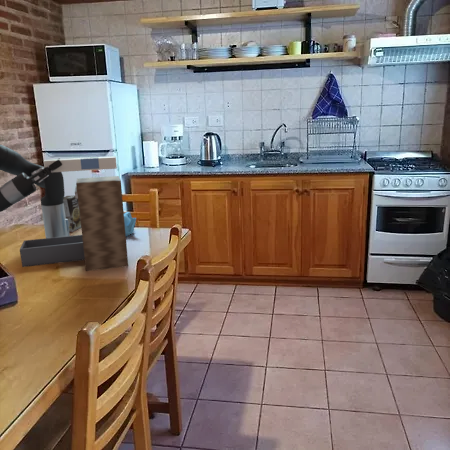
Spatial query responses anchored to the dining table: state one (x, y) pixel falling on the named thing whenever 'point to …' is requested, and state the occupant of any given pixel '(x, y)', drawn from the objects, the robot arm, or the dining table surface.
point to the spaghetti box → (84, 164)
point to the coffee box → (72, 212)
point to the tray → (52, 250)
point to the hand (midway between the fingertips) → (60, 161)
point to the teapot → (129, 223)
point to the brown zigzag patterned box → (102, 222)
